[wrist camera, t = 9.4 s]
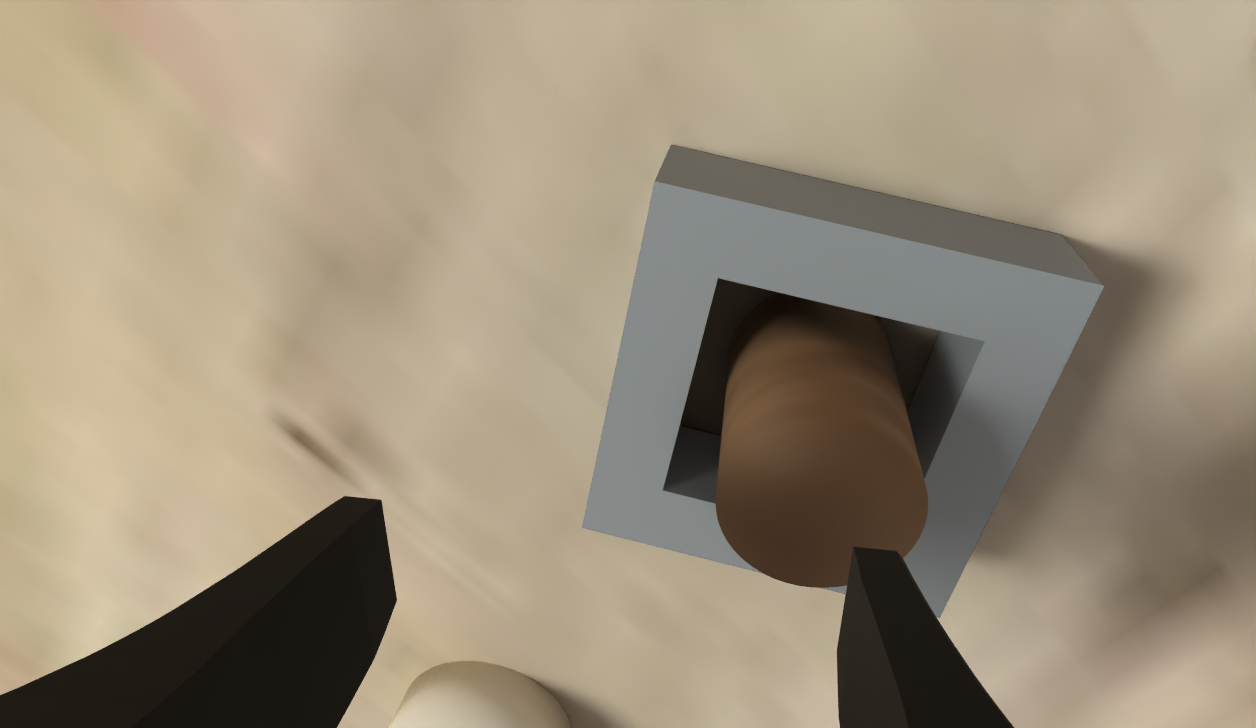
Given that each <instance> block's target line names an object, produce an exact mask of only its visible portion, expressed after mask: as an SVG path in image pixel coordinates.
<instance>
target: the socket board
mask: <svg viewBox="0 0 1256 728" xmlns="http://www.w3.org/2000/svg"><path fill="white" fill-rule="evenodd" d="M718 278H720V279H724V280H728V281H732V282H737V283H741V284H745V285H749V286H754V287H758V288H762V289H766V290H770V291H775V292H779V293H783V294H787V295H791V296H796V297H800V298H804V299H808V300H813V301H817V302H821V303H825V304H829V305H834V306H838V307H842V308H846V309H851V310H855V311H859V312H863V313H867V314H872V315H876V316H880V317H884V318H888V319H893V320H897V321H901V322H905V323H910V324H914V325H918V326H922V327H926V328H931V329H935V330H939V331H940V333H939V335H938V338H937V340H936V343H935V345H934V347H933V350H932V352H931V355H930V357H929V360H928V362H927V365H926V367H925V370H924V372H923V374H922V377H921V379H920V382H919V384H918V387H917V389H916V392H915V394H914V396H913V399H912V401H911V404H910V406H909V409H908V411H907V415H908V419H909V423H910V426H911V430H912V434H913V438H914V442H915V446H916V450H917V454H918V458H919V461H920V465H921V469H922V473H923V477H924V481H925V485H926V489H927V493H928V515H927V519H926V523H925V527H924V529H923V531H922V534H921V536H920V538H919V539H918V541H917V542H916V544H915V546H914V547H913V548H912V549H911V551H910V552H909V553H908V554H907V555H906V556H905V557H904V558H903V559H904V561H905V563H906V565H907V567H908V569H909V571H910V573H911V574H912V576H913V578H914V580H915V582H916V583H917V585H918V587H919V589H920V591H921V592H922V594H923V596H924V598H925V599H926V601H927V603H928V604H929V606H930V608H931V609H932V611H933V613H934V614H935V616H936V617H938V618H940V616H941V614H942V612H943V610H944V608H945V606H946V604H947V602H948V600H949V598H950V596H951V594H952V592H953V590H954V588H955V586H956V584H957V582H958V580H959V578H960V576H961V574H962V572H963V570H964V568H965V566H966V564H967V562H968V560H969V558H970V556H971V554H972V552H973V550H974V548H975V546H976V544H977V542H978V540H979V538H980V536H981V534H982V532H983V530H984V528H985V526H986V524H987V521H988V519H989V517H990V515H991V513H992V511H993V509H994V507H995V505H996V503H997V501H998V499H999V497H1000V495H1001V493H1002V491H1003V489H1004V487H1005V485H1006V483H1007V481H1008V479H1009V477H1010V475H1011V473H1012V471H1013V469H1014V467H1015V465H1016V463H1017V461H1018V459H1019V457H1020V455H1021V453H1022V451H1023V449H1024V447H1025V445H1026V443H1027V441H1028V439H1029V437H1030V435H1031V433H1032V431H1033V429H1034V427H1035V425H1036V423H1037V421H1038V419H1039V417H1040V415H1041V413H1042V411H1043V409H1044V407H1045V405H1046V403H1047V401H1048V399H1049V397H1050V395H1051V393H1052V391H1053V389H1054V387H1055V385H1056V383H1057V381H1058V379H1059V377H1060V375H1061V373H1062V371H1063V368H1064V366H1065V364H1066V362H1067V360H1068V358H1069V356H1070V354H1071V352H1072V350H1073V348H1074V346H1075V344H1076V342H1077V340H1078V338H1079V336H1080V334H1081V332H1082V330H1083V328H1084V326H1085V324H1086V322H1087V320H1088V318H1089V316H1090V314H1091V312H1092V310H1093V308H1094V306H1095V304H1096V302H1097V300H1098V298H1099V296H1100V294H1101V292H1102V290H1103V288H1104V285H1103V284H1102V282H1101V281H1100V280H1099V279H1098V278H1097V276H1096V275H1095V274H1094V273H1093V272H1092V270H1091V269H1090V268H1089V267H1088V266H1087V265H1086V263H1085V262H1084V261H1083V260H1082V259H1081V257H1080V256H1079V255H1078V254H1077V253H1076V252H1075V250H1074V249H1073V248H1072V247H1071V246H1070V244H1069V243H1068V242H1067V241H1066V240H1065V238H1064V237H1063V236H1062V235H1060V234H1056V233H1051V232H1047V231H1043V230H1038V229H1034V228H1030V227H1025V226H1021V225H1017V224H1012V223H1008V222H1004V221H999V220H995V219H991V218H986V217H982V216H978V215H973V214H969V213H965V212H960V211H956V210H952V209H947V208H943V207H939V206H934V205H930V204H926V203H921V202H917V201H913V200H908V199H904V198H900V197H895V196H891V195H887V194H882V193H878V192H874V191H869V190H865V189H861V188H856V187H852V186H848V185H843V184H839V183H835V182H830V181H826V180H822V179H817V178H813V177H809V176H804V175H800V174H796V173H791V172H787V171H783V170H778V169H774V168H770V167H765V166H761V165H757V164H752V163H748V162H744V161H739V160H735V159H731V158H726V157H722V156H718V155H713V154H709V153H705V152H700V151H696V150H692V149H687V148H683V147H679V146H674V145H671V146H670V148H669V150H668V153H667V155H666V157H665V159H664V162H663V164H662V166H661V168H660V171H659V173H658V175H657V177H656V179H655V182H654V187H653V192H652V197H651V201H650V206H649V211H648V216H647V220H646V225H645V230H644V235H643V239H642V244H641V249H640V254H639V259H638V263H637V268H636V273H635V278H634V282H633V287H632V292H631V297H630V301H629V306H628V311H627V316H626V321H625V325H624V330H623V335H622V340H621V344H620V349H619V354H618V359H617V364H616V368H615V373H614V378H613V383H612V387H611V392H610V397H609V402H608V406H607V411H606V416H605V421H604V426H603V430H602V435H601V440H600V445H599V449H598V454H597V459H596V464H595V468H594V473H593V478H592V483H591V488H590V492H589V497H588V502H587V507H586V511H585V516H584V521H583V526H582V528H585V529H589V530H593V531H597V532H601V533H605V534H608V535H612V536H616V537H620V538H624V539H628V540H632V541H636V542H640V543H644V544H648V545H652V546H656V547H660V548H664V549H668V550H672V551H676V552H680V553H684V554H688V555H692V556H696V557H700V558H704V559H708V560H712V561H716V562H720V563H724V564H728V565H732V566H736V567H740V568H744V569H748V570H752V571H755V572H759V573H762V572H760V571H758V570H757V569H755V568H753V567H752V566H751V565H749V564H748V563H747V562H746V561H744V560H743V559H742V558H741V557H740V556H739V555H738V554H737V553H736V552H735V551H734V550H733V548H732V547H731V546H730V544H729V543H728V542H727V540H726V538H725V536H724V535H723V533H722V531H721V528H720V525H719V523H718V518H717V514H716V490H717V479H718V468H719V458H720V447H721V436H719V435H715V434H710V433H706V432H702V431H698V430H694V429H690V428H686V427H682V426H680V422H681V418H682V414H683V410H684V407H685V403H686V399H687V395H688V391H689V387H690V384H691V380H692V376H693V372H694V368H695V364H696V361H697V357H698V353H699V349H700V345H701V341H702V337H703V334H704V330H705V326H706V322H707V318H708V314H709V311H710V307H711V303H712V299H713V295H714V291H715V287H716V284H717V280H718ZM763 574H764V573H763ZM823 589H827V590H831V591H835V592H839V593H843V594H846V590H847V585H846V586H840V587H829V588H823Z"/></svg>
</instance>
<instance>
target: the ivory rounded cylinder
mask: <svg viewBox="0 0 1256 728" xmlns="http://www.w3.org/2000/svg"><path fill="white" fill-rule="evenodd" d="M388 728H571V725H570V722H569V719H568V717H567V715H566V713H565V711H564V710H563V708H562V707H561V705H560V704H559V703H558V701H557V700H556V699H555V698H554V697H553V696H552V695H551V694H550V693H549V692H548V691H547V690H546V689H544V688H543V687H542V686H541V685H539V684H538V683H536V682H535V681H533V680H532V679H530V678H528V677H526V676H524V675H523V674H521V673H518V672H516V671H514V670H511V669H509V668H505V667H502V666H499V665H495V664H491V663H485V662H477V661H458V662H450V663H445V664H441V665H438V666H435V667H433V668H431V669H429V670H427V671H425V672H424V673H422V674H421V675H419V676H418V677H417V678H416V679H415V680H414V681H413V682H412V684H411V685H410V687H409V688H408V690H407V692H406V694H405V696H404V698H403V700H402V702H401V704H400V706H399V708H398V710H397V712H396V714H395V716H394V718H393V720H392V721H391V723H390V725H389V727H388Z"/></svg>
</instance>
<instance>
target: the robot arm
mask: <svg viewBox="0 0 1256 728" xmlns="http://www.w3.org/2000/svg"><path fill="white" fill-rule="evenodd" d="M396 601H397V598H396V591H395V585H394V579H393V572H392V566H391V559H390V553H389V546H388V540H387V534H386V527H385V521H384V514H383V508H382V501H381V500H377V499H367V498H357V497H347V496H344V497H343V498H341V499H339V500H338V501H336V502H335V503H333V504H332V505H330V506H329V507H327V508H326V509H324V510H323V511H321V512H320V513H318V514H317V515H315V516H314V517H312V518H311V519H310V520H308V521H307V522H305V523H304V524H302V525H301V526H300V527H298V528H297V529H295V530H294V531H292V532H291V533H290V534H288V535H287V536H285V537H284V538H282V539H281V540H280V541H278V542H277V543H275V544H274V545H272V546H271V547H269V548H268V549H266V550H265V551H264V552H262V553H261V554H259V555H258V556H256V557H255V558H253V559H252V560H250V561H249V562H248V563H246V564H245V565H243V566H242V567H240V568H239V569H237V570H236V571H234V572H233V573H231V574H230V575H228V576H226V577H225V578H223V579H222V580H220V581H219V582H217V583H215V584H214V585H212V586H211V587H209V588H207V589H206V590H204V591H203V592H201V593H199V594H198V595H196V596H195V597H193V598H191V599H190V600H188V601H187V602H185V603H184V604H182V605H180V606H179V607H177V608H176V609H174V610H172V611H171V612H169V613H167V614H165V615H164V616H162V617H160V618H159V619H157V620H155V621H153V622H152V623H150V624H148V625H146V626H144V627H143V628H141V629H139V630H137V631H135V632H133V633H131V634H130V635H128V636H126V637H124V638H122V639H120V640H118V641H116V642H114V643H113V644H111V645H109V646H107V647H105V648H103V649H101V650H99V651H97V652H95V653H93V654H91V655H89V656H87V657H85V658H83V659H80V660H78V661H76V662H74V663H72V664H69V665H67V666H65V667H63V668H61V669H58V670H56V671H54V672H52V673H50V674H48V675H45V676H43V677H41V678H39V679H37V680H34V681H32V682H30V683H28V684H26V685H24V686H21V687H19V688H17V689H14V690H12V691H10V692H7V693H5V694H2V695H0V728H337V726H338V724H339V723H340V721H341V719H342V717H343V715H344V714H345V712H346V710H347V708H348V706H349V705H350V703H351V701H352V699H353V697H354V695H355V694H356V692H357V690H358V688H359V686H360V684H361V683H362V681H363V679H364V677H365V675H366V673H367V671H368V670H369V668H370V666H371V664H372V662H373V660H374V658H375V655H376V653H377V651H378V648H379V646H380V643H381V641H382V638H383V636H384V633H385V631H386V628H387V625H388V623H389V620H390V617H391V615H392V612H393V609H394V607H395V604H396ZM837 672H838V707H839V722H840V728H1014V727H1013V726H1012V724H1011V723H1010V722H1009V721H1008V719H1007V718H1006V717H1005V715H1004V714H1003V713H1002V711H1001V710H1000V709H999V707H998V706H997V705H996V704H995V702H994V701H993V700H992V698H991V697H990V696H989V694H988V693H987V692H986V690H985V689H984V688H983V686H982V685H981V683H980V682H979V681H978V679H977V678H976V676H975V675H974V674H973V672H972V671H971V669H970V668H969V666H968V665H967V663H966V662H965V660H964V659H963V657H962V656H961V654H960V653H959V651H958V650H957V648H956V647H955V646H954V644H953V643H952V641H951V640H950V638H949V637H948V635H947V633H946V632H945V630H944V629H943V627H942V626H941V624H940V622H939V621H938V619H937V618H936V616H935V614H934V613H933V611H932V609H931V608H930V606H929V604H928V603H927V601H926V599H925V598H924V596H923V594H922V592H921V591H920V589H919V587H918V585H917V583H916V582H915V580H914V578H913V576H912V574H911V573H910V571H909V569H908V567H907V565H906V563H905V561H904V559H903V558H902V557H901V555H900V554H899V553H898V552H897V551H893V550H882V549H872V548H862V547H853V551H852V558H851V564H850V571H849V577H848V583H847V590H846V596H845V603H844V609H843V615H842V622H841V628H840V635H839V641H838V648H837Z"/></svg>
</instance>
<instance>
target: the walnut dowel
mask: <svg viewBox="0 0 1256 728" xmlns="http://www.w3.org/2000/svg"><path fill="white" fill-rule="evenodd" d="M716 514H717V518H718V523H719V525H720V528H721V531H722V533H723V535H724V536H725V538H726V540H727V542H728V543H729V544H730V546H731V547H732V548H733V550H734V551H735V552H736V553H737V554H738V555H739V556H740V557H741V558H742V559H743V560H744V561H746V562H747V563H748V564H749V565H751V566H752V567H753V568H755V569H757V570H758V571H760V572H762V573H764V574H766V575H768V576H770V577H772V578H774V579H777V580H780V581H783V582H786V583H790V584H794V585H798V586H806V587H817V588H829V587H840V586H846V585H847V583H848V577H849V571H850V564H851V558H852V551H853V547H862V548H872V549H882V550H893V551H897V552H898V553H899V554H900V555H901V557H902V558H904V557H905V556H906V555H907V554H908V553H909V552H910V551H911V549H912V548H913V547H914V546H915V544H916V542H917V541H918V539H919V538H920V536H921V534H922V531H923V529H924V527H925V523H926V519H927V515H928V493H927V489H926V485H925V481H924V477H923V473H922V469H921V465H920V461H919V458H918V454H917V450H916V446H915V442H914V438H913V434H912V430H911V426H910V423H909V419H908V415H907V411H906V407H905V403H904V399H903V395H902V392H901V388H900V384H899V380H898V376H897V372H896V368H895V364H894V361H893V357H892V353H891V349H890V345H889V341H888V338H887V335H886V333H885V331H884V329H883V327H882V326H881V324H880V322H879V321H878V320H877V318H876V317H875V316H874V315H872V314H867V313H863V312H859V311H855V310H851V309H846V308H842V307H838V306H834V305H829V304H825V303H821V302H817V301H813V300H808V299H804V298H800V297H796V296H791V295H787V294H781V295H778V296H775V297H773V298H771V299H769V300H767V301H765V302H764V303H762V304H761V305H759V306H758V307H757V308H755V309H754V310H753V311H752V312H751V313H750V314H749V315H748V316H747V317H746V318H745V319H744V320H743V322H742V323H741V324H740V326H739V328H738V329H737V331H736V333H735V335H734V338H733V340H732V343H731V347H730V353H729V362H728V373H727V383H726V394H725V404H724V415H723V426H722V436H721V447H720V458H719V468H718V479H717V490H716Z"/></svg>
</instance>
